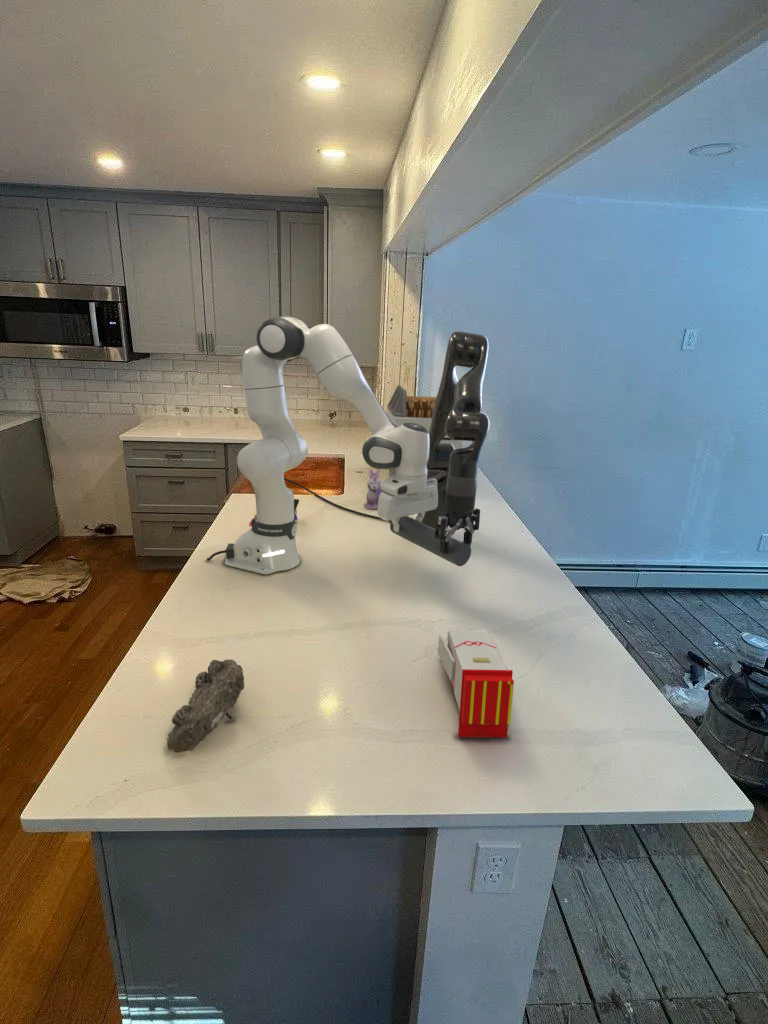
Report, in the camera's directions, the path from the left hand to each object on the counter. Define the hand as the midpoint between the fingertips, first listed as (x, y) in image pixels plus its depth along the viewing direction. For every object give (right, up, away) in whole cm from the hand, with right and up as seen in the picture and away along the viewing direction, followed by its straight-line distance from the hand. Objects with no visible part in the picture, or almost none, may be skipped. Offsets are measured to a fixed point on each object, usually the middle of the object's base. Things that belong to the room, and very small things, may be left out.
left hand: (407, 528), depth 162 cm
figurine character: (-41, 0, +42) cm, 59 cm away
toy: (+11, -33, -43) cm, 56 cm away
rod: (+5, -5, -5) cm, 9 cm away
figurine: (-10, +7, +65) cm, 66 cm away
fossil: (-39, -34, -54) cm, 75 cm away
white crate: (+11, +24, +113) cm, 116 cm away
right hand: (+12, -5, -14) cm, 19 cm away
